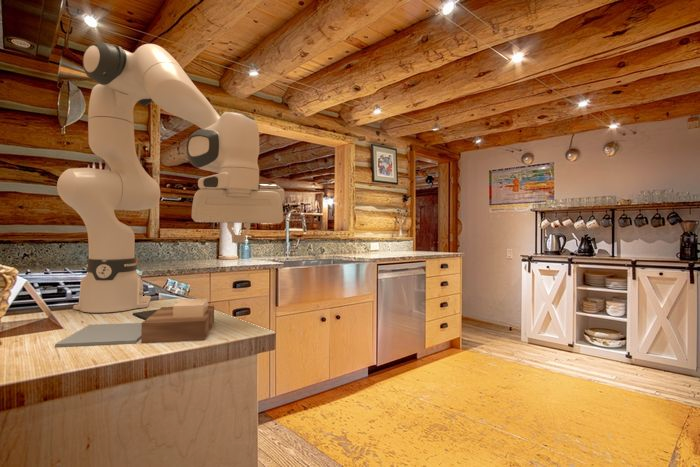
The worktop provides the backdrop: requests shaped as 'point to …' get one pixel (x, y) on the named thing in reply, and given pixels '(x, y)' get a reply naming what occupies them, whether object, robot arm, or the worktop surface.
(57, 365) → the worktop surface
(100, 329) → the mat
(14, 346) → the worktop surface
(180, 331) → the brown flat wooden block
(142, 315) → the smartphone
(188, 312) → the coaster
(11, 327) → the worktop surface
